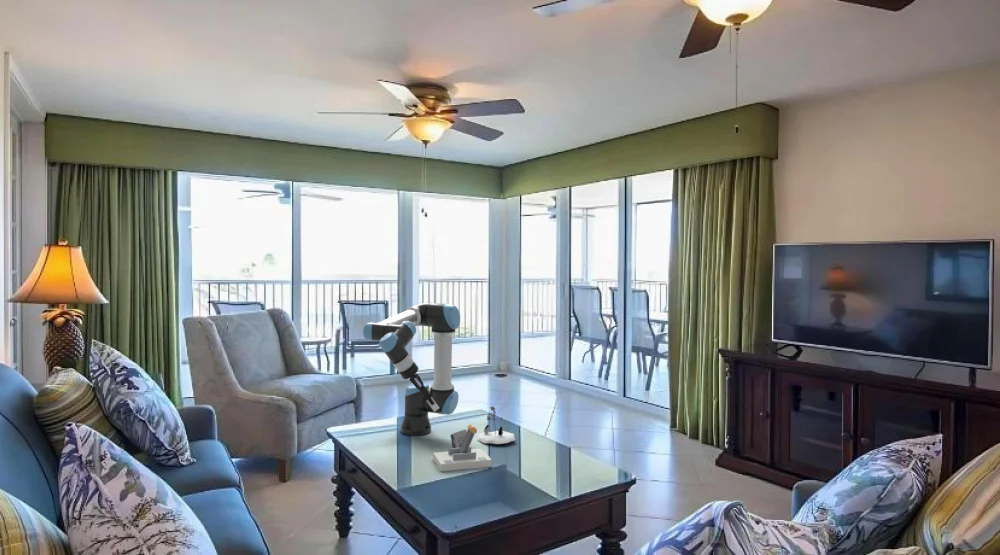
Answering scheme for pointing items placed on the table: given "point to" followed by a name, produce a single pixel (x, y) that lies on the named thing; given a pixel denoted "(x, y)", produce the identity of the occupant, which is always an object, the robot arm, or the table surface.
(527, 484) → the table surface
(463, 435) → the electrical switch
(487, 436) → the figurine
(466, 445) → the handle
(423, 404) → the robot arm
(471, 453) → the switch block
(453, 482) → the table surface
